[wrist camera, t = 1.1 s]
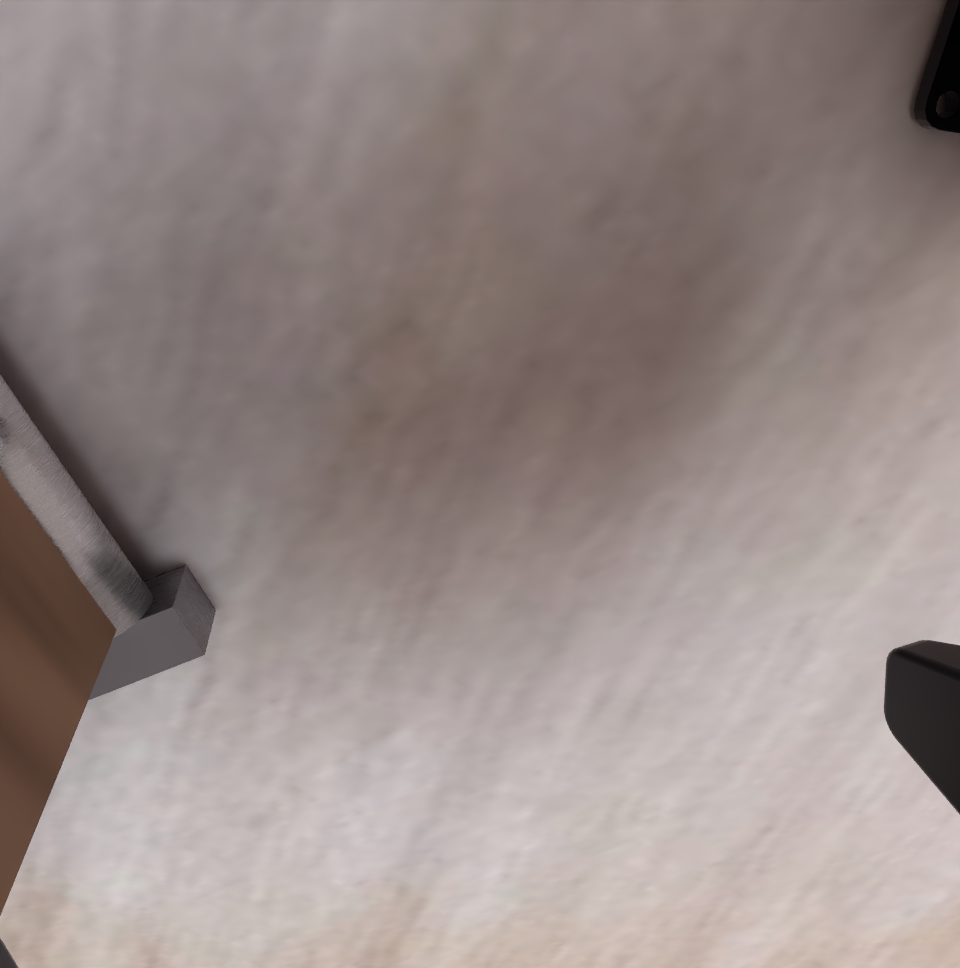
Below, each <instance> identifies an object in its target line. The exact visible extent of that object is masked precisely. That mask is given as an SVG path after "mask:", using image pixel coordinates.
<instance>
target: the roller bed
mask: <svg viewBox="0 0 960 968" xmlns="http://www.w3.org/2000/svg"><path fill="white" fill-rule="evenodd" d="M0 472H1V473H2V474H3V476H4V477H5V479H6V480H7V481H8V483H9V484H10V485H11V487H12V488H13V489H14V491H15V492H16V494H17V495H18V496H19V498H20V499H21V500H22V502H23V503H24V504H25V506H26V507H27V508H28V510H29V511H30V513H31V514H32V515H33V517H34V518H35V519H36V521H37V522H38V523H39V525H40V526H41V528H42V529H43V530H44V532H45V533H46V534H47V536H48V537H49V538H50V540H51V541H52V542H53V544H54V545H55V547H56V548H57V549H58V551H59V552H60V553H61V555H62V556H63V557H64V559H65V560H66V561H67V563H68V564H69V566H70V567H71V568H72V570H73V571H74V572H75V574H76V575H77V576H78V578H79V579H80V581H81V582H82V583H83V585H84V586H85V587H86V589H87V590H88V591H89V593H90V594H91V595H92V597H93V598H94V600H95V601H96V602H97V604H98V605H99V606H100V608H101V609H102V610H103V612H104V613H105V615H106V616H107V617H108V619H109V620H110V621H111V623H112V624H113V625H114V627H115V628H116V629H117V631H116V633H115V636H114V638H113V640H112V643H111V645H110V648H109V650H108V653H107V655H106V658H105V660H104V663H103V665H102V667H101V670H100V672H99V675H98V677H97V680H96V682H95V685H94V687H93V689H92V692H91V694H90V697H89V699H88V700H90V699H93V698H95V697H98V696H100V695H103V694H106V693H108V692H111V691H113V690H116V689H118V688H121V687H123V686H126V685H129V684H131V683H134V682H136V681H139V680H141V679H144V678H147V677H149V676H152V675H154V674H157V673H159V672H162V671H164V670H167V669H170V668H172V667H175V666H177V665H180V664H182V663H185V662H187V661H190V660H193V659H195V658H198V657H200V656H203V655H205V652H206V648H207V644H208V640H209V636H210V632H211V628H212V623H213V619H214V615H215V609H214V607H213V606H212V604H211V603H210V601H209V600H208V598H207V597H206V595H205V594H204V592H203V591H202V589H201V588H200V586H199V584H198V583H197V581H196V580H195V578H194V577H193V575H192V574H191V572H190V571H189V569H188V568H187V566H186V565H185V566H183V567H180V568H178V569H175V570H173V571H170V572H168V573H165V574H163V575H160V576H158V577H155V578H153V579H150V580H148V581H145V582H143V580H142V579H141V577H140V576H139V574H138V573H137V572H136V570H135V569H134V567H133V566H132V564H131V563H130V561H129V560H128V559H127V557H126V556H125V554H124V553H123V551H122V550H121V548H120V547H119V546H118V544H117V543H116V541H115V540H114V538H113V537H112V535H111V534H110V532H109V531H108V530H107V528H106V527H105V525H104V524H103V522H102V521H101V519H100V518H99V517H98V515H97V514H96V512H95V511H94V509H93V508H92V506H91V505H90V504H89V502H88V501H87V499H86V498H85V496H84V495H83V493H82V492H81V491H80V489H79V488H78V486H77V485H76V483H75V482H74V480H73V479H72V478H71V476H70V475H69V473H68V472H67V470H66V469H65V467H64V466H63V465H62V463H61V462H60V460H59V459H58V457H57V456H56V454H55V453H54V451H53V450H52V449H51V447H50V446H49V444H48V443H47V441H46V440H45V438H44V437H43V436H42V434H41V433H40V431H39V430H38V428H37V427H36V425H35V424H34V423H33V421H32V420H31V418H30V417H29V415H28V414H27V412H26V411H25V410H24V408H23V407H22V405H21V404H20V402H19V401H18V399H17V398H16V397H15V395H14V394H13V392H12V391H11V389H10V388H9V386H8V385H7V383H6V382H5V381H4V379H3V378H2V376H1V375H0Z"/></svg>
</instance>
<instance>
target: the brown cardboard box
mask: <svg viewBox="0 0 960 968" xmlns="http://www.w3.org/2000/svg"><path fill="white" fill-rule="evenodd" d="M116 631H117V629H116V628H115V627H114V625H113V624H112V623H111V621H110V620H109V619H108V617H107V616H106V615H105V613H104V612H103V610H102V609H101V608H100V606H99V605H98V604H97V602H96V601H95V600H94V598H93V597H92V595H91V594H90V593H89V591H88V590H87V589H86V587H85V586H84V585H83V583H82V582H81V581H80V579H79V578H78V576H77V575H76V574H75V572H74V571H73V570H72V568H71V567H70V566H69V564H68V563H67V561H66V560H65V559H64V557H63V556H62V555H61V553H60V552H59V551H58V549H57V548H56V547H55V545H54V544H53V542H52V541H51V540H50V538H49V537H48V536H47V534H46V533H45V532H44V530H43V529H42V528H41V526H40V525H39V523H38V522H37V521H36V519H35V518H34V517H33V515H32V514H31V513H30V511H29V510H28V508H27V507H26V506H25V504H24V503H23V502H22V500H21V499H20V498H19V496H18V495H17V494H16V492H15V491H14V489H13V488H12V487H11V485H10V484H9V483H8V481H7V480H6V479H5V477H4V476H3V474H2V473H1V472H0V915H1V913H2V910H3V908H4V905H5V903H6V900H7V898H8V895H9V893H10V890H11V888H12V886H13V883H14V881H15V878H16V876H17V873H18V871H19V868H20V866H21V864H22V861H23V859H24V856H25V854H26V851H27V849H28V846H29V844H30V841H31V839H32V837H33V834H34V832H35V829H36V827H37V824H38V822H39V819H40V817H41V814H42V812H43V810H44V807H45V805H46V802H47V800H48V797H49V795H50V792H51V790H52V788H53V785H54V783H55V780H56V778H57V775H58V773H59V770H60V768H61V765H62V763H63V761H64V758H65V756H66V753H67V751H68V748H69V746H70V743H71V741H72V738H73V736H74V734H75V731H76V729H77V726H78V724H79V721H80V719H81V716H82V714H83V712H84V709H85V707H86V704H87V702H88V699H89V697H90V694H91V692H92V689H93V687H94V685H95V682H96V680H97V677H98V675H99V672H100V670H101V667H102V665H103V663H104V660H105V658H106V655H107V653H108V650H109V648H110V645H111V643H112V640H113V638H114V636H115V633H116Z"/></svg>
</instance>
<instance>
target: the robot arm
mask: <svg viewBox="0 0 960 968" xmlns="http://www.w3.org/2000/svg"><path fill="white" fill-rule="evenodd" d="M944 93H946V95H947V97H948V101H947V106H946V108H945V109H944V111H943V112H942V113H941V114H939V115H938V113H937V111H936V106H937V101H938V100H939V98H940V96H941V95H943V94H944ZM914 113H915V118H916V120H917V121H918V123H919V124H920V125H921V126H923V127H926V128H928V129H935V130H942V131H949V132H955V133H960V0H948V1H947V4H946V7H945V10H944V13H943V16H942V20H941V23H940V26H939V29H938V32H937V35H936V38H935V41H934V44H933V47H932V51H931V54H930V57H929V60H928V63H927V66H926V69H925V72H924V75H923V78H922V81H921V85H920V88H919V91H918V94H917V97H916V100H915V106H914ZM884 713H885V718H886V721H887V724H888V726H889V728H890V730H891V732H892V734H893V735H894V737H895V738H896V739H897V741H898V742H899V743H900V744H901V745H902V746H903V748H904V749H905V750H906V751H907V752H908V754H909V755H910V756H911V757H912V758H913V760H914V761H915V762H916V763H917V764H918V765H919V767H920V768H921V769H922V770H923V771H924V773H925V774H926V775H927V776H928V777H929V778H930V780H931V781H932V782H933V783H934V784H935V786H936V787H937V788H938V789H939V790H940V792H941V793H942V794H943V795H944V796H945V797H946V799H947V800H948V801H949V802H950V803H951V805H952V806H953V807H954V808H955V809H956V810H957V812H958V813H959V814H960V645H954V644H948V643H943V642H937V641H931V640H921V641H917V642H914V643H911V644H908V645H905V646H901V647H898V648H895V649H893V650H892V651H891V652H890V653H889V655H888V657H887V661H886V678H885V698H884ZM0 968H18V966H17V965H16V963H15V961H14V960H13V958H12V956H11V955H10V953H9V951H8V950H7V948H6V946H5V945H4V943H3V941H2V940H1V939H0Z"/></svg>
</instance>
